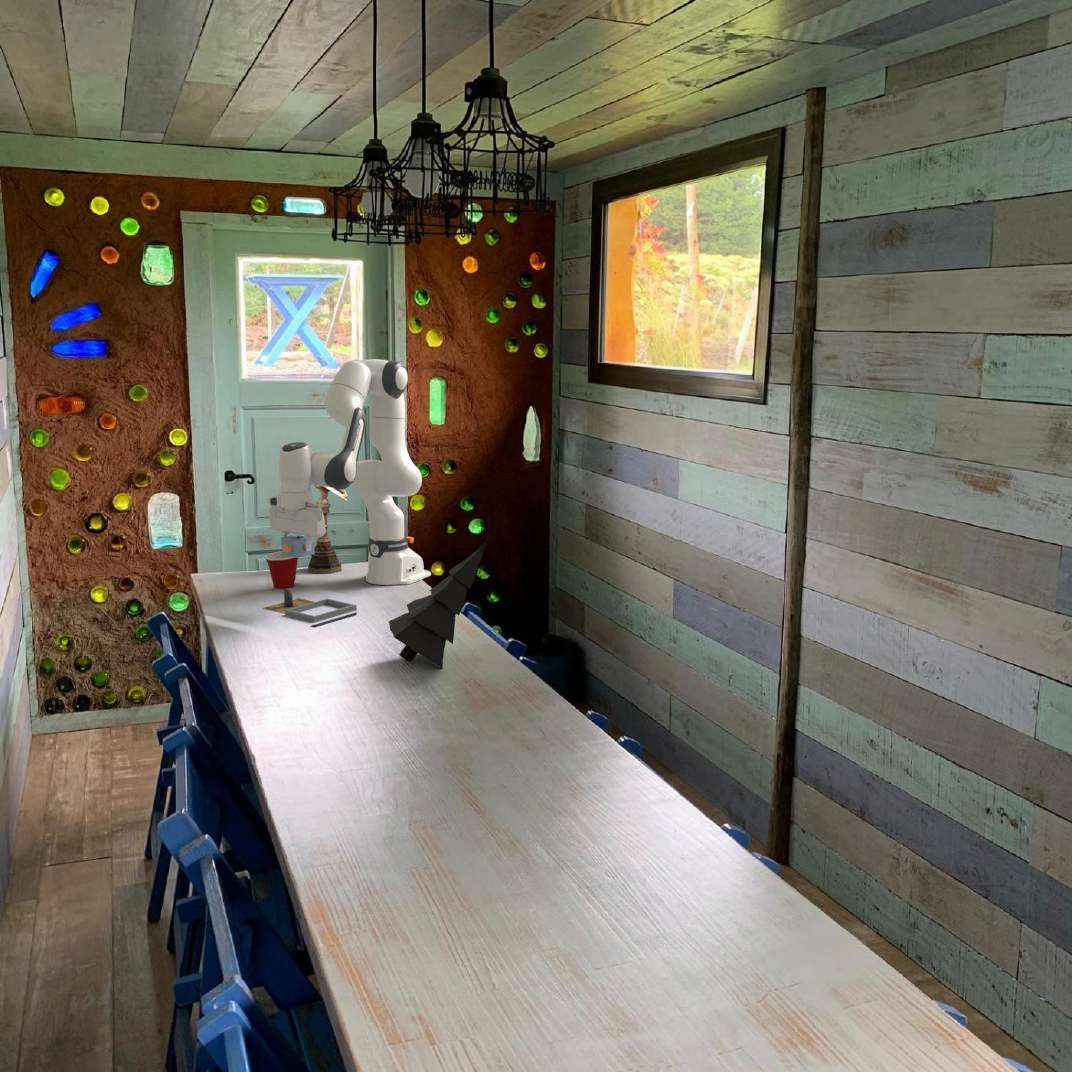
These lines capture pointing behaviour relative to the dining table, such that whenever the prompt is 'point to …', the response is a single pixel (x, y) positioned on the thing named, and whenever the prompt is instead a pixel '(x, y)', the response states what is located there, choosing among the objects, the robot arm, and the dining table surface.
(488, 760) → the dining table surface
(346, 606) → the tray
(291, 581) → the plastic cup
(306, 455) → the robot arm
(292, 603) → the board
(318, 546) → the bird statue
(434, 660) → the decorative tree
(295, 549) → the collar
